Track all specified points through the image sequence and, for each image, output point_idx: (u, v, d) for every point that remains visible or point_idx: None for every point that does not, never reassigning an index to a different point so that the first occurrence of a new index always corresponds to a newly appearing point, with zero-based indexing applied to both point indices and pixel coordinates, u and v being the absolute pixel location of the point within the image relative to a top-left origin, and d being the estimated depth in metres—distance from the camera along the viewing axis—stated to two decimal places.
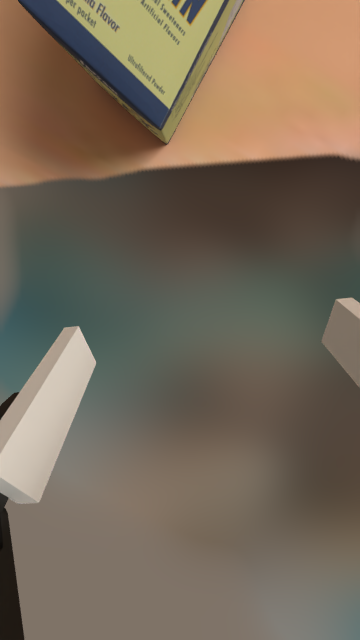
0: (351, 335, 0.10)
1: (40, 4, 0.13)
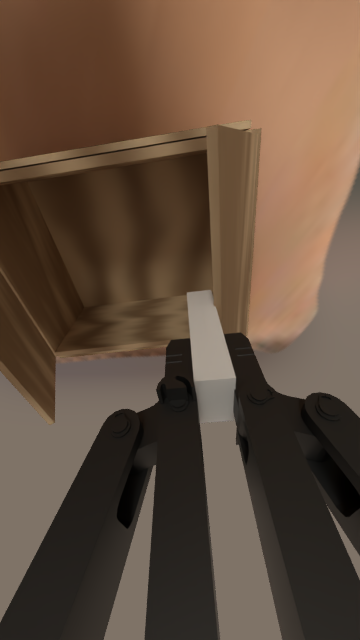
0: None
1: None
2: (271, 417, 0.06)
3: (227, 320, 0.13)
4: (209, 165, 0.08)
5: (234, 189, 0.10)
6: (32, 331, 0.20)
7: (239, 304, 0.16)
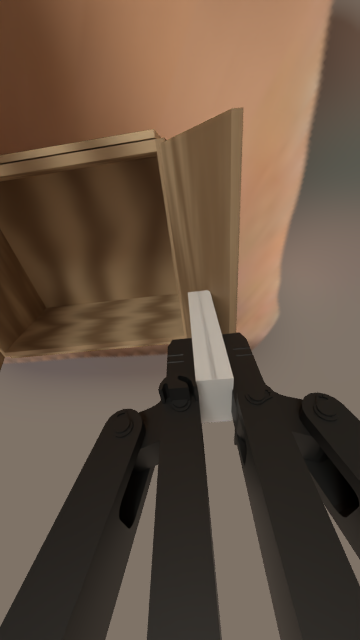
0: None
1: None
2: (269, 417, 0.06)
3: None
4: (233, 152, 0.07)
5: None
6: None
7: None
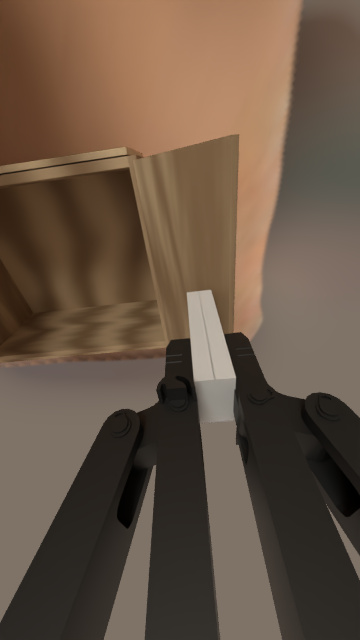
0: None
1: None
2: (271, 417, 0.06)
3: None
4: (232, 169, 0.09)
5: None
6: None
7: None
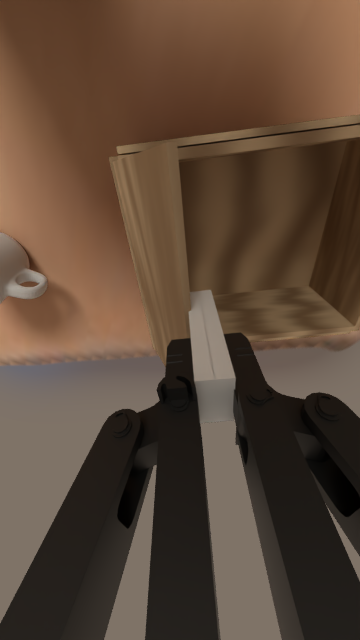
0: None
1: None
2: (271, 417, 0.06)
3: None
4: None
5: None
6: None
7: None
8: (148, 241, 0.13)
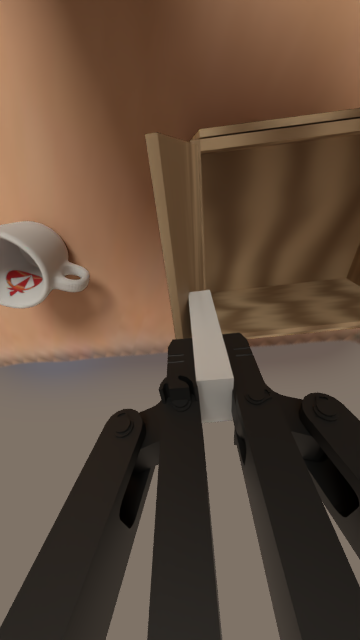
0: None
1: None
2: (268, 417, 0.06)
3: None
4: None
5: None
6: None
7: None
8: None
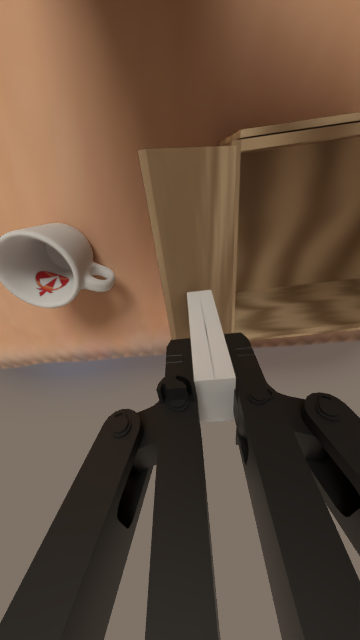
0: None
1: None
2: (271, 417, 0.06)
3: None
4: None
5: None
6: (225, 312, 0.19)
7: None
8: None
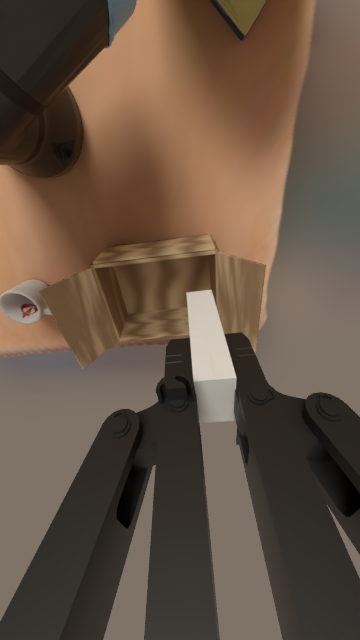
0: None
1: None
2: (271, 417, 0.06)
3: None
4: (263, 272, 0.30)
5: None
6: (104, 327, 0.42)
7: None
8: None
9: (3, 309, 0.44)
